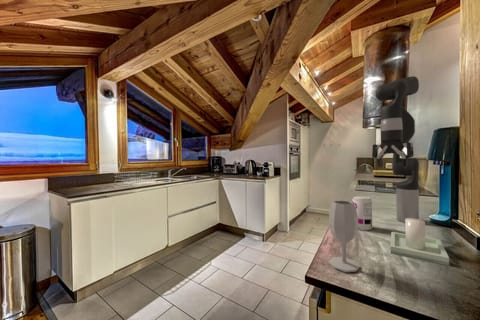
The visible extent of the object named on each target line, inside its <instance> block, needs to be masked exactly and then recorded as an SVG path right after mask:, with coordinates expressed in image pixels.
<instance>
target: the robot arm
mask: <svg viewBox="0 0 480 320" xmlns="http://www.w3.org/2000/svg"><path fill="white" fill-rule="evenodd" d="M419 87H420V81H419V79H418V77H417V76H408V77H407V76H406V77H404V78H400V79H395V80H393V81H392V82H388V83H384V84H380V85H379V86H378V87H377V88H376V89H375V98H376V99H377V100H378V101H379V102H385V101H391V103H390V104H389V103H388V104H387V105H384V106H382V107H381V108H380V127H379V128H380V129H379V130H380V144H372V152H371V157H372V158H373V159H376V162H377V163H376V165H377V167H378V168H381V169H382V168H383V165H384V164H383V163H384V162H383V159H384V156H385V155H387V154H392V165H391V166H392V174H393V175H394V176H400V177H401V176H405V177H409V178H408V179H406V180H403V181H402V180H401V181H397V182H396V185H395V195H396V198H395V199H396V201H395V202H396V208H395V209H396V210H395V211H396V221H398V222H400V223H405V219H406V218H415V219H420V197H419V196H420V195H419V194H420V193H419V188H420V186H419V174H420V162H419V160H418V159H417V158H414V145H413V142H411V139H412V138H413V137H414V135H415V132H416V130H415V129H416V122H415V119H414V117H413V116H412V115H411V114H410V113H409V111H408V110H407V109H406V108H405V107H404V106H403V103H404V99H405V97H407V96H411V95H415V94H417V92H418V91H419ZM379 149H381V150H380V152H379ZM404 149H406V153H405V151H404Z"/></svg>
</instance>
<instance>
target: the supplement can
mask: <svg viewBox="0 0 480 320" xmlns="http://www.w3.org/2000/svg"><path fill="white" fill-rule="evenodd" d="M351 200H352V201H351V202H353V203H354V205H355V208H356V211H357V217H358V230H360V231H371V230H372V229H373V201H372V199H371V197H369V196H364V195H354V196H353V197H352V199H351Z"/></svg>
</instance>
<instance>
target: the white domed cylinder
mask: <svg viewBox="0 0 480 320" xmlns="http://www.w3.org/2000/svg"><path fill="white" fill-rule="evenodd" d="M404 225H405V229H404V230H405V233H404V234H406V246H407V247H409V248H411V249H415V250H425V237H426V221H425V220H424V219H420V218H419V219H415V218H406V219H405V222H404Z"/></svg>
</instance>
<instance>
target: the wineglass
mask: <svg viewBox="0 0 480 320" xmlns="http://www.w3.org/2000/svg"><path fill="white" fill-rule="evenodd" d="M328 227H329V230H330V234H331V235H332V236H333V237H334V238H335V239H336V240H337V241H338V242H340V244H341V246H340V249H341V250H340V251H341V253H340V254H341V256H333V257H332V258H330V259H329V260H328V263H329V264H330V265H331V267H333V268H334V269H336V270H338V271H340V272H343V273H357V272H358V270H359V269H360V268H361V265H360V264H359V263H357V261H355V260H353V259H351V258H348V257H347V244H348V243H349V242H352V240H354V239H355V238H356V237H357V234H358V230H359V229H358V217H357V211H356V208H355V205H354V203H353V202H352V201H350V200H345V199H335V200H332V202H331V204H330V208H329V216H328Z"/></svg>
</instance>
